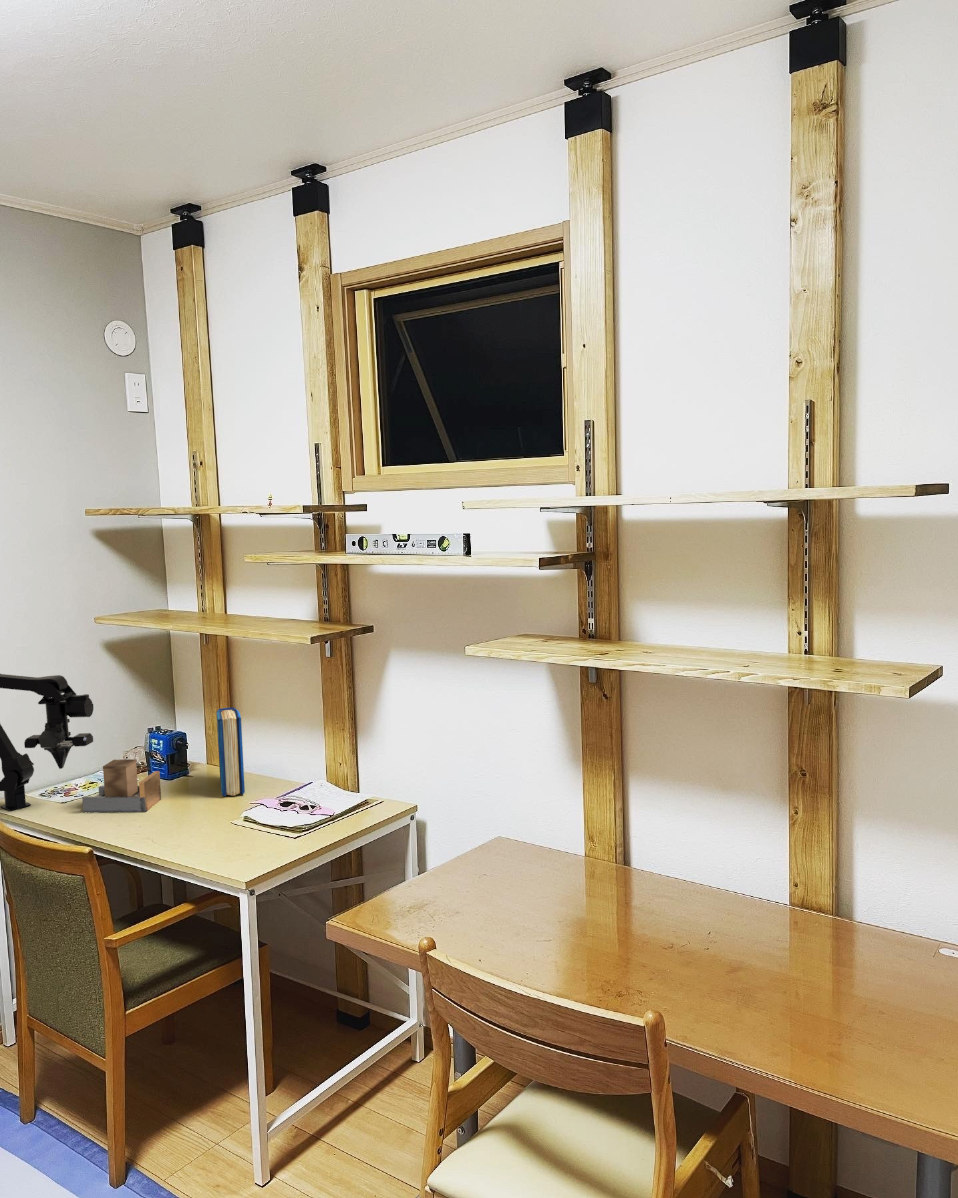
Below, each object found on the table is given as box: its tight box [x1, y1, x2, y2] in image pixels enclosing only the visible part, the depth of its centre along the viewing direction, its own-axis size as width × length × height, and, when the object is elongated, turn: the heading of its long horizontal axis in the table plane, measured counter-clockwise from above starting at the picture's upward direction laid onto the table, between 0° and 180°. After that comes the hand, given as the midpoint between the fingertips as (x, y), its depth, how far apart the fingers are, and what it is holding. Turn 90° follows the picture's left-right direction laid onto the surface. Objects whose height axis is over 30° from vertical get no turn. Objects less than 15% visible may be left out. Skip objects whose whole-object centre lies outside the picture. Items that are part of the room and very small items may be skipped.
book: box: [216, 707, 246, 797], centre depth 305 cm, size 22×7×25 cm, turn 17°
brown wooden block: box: [102, 758, 139, 796], centre depth 290 cm, size 7×8×10 cm
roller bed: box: [82, 770, 162, 814], centre depth 290 cm, size 19×12×9 cm, turn 87°
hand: (61, 768), depth 290 cm, fingers closed
